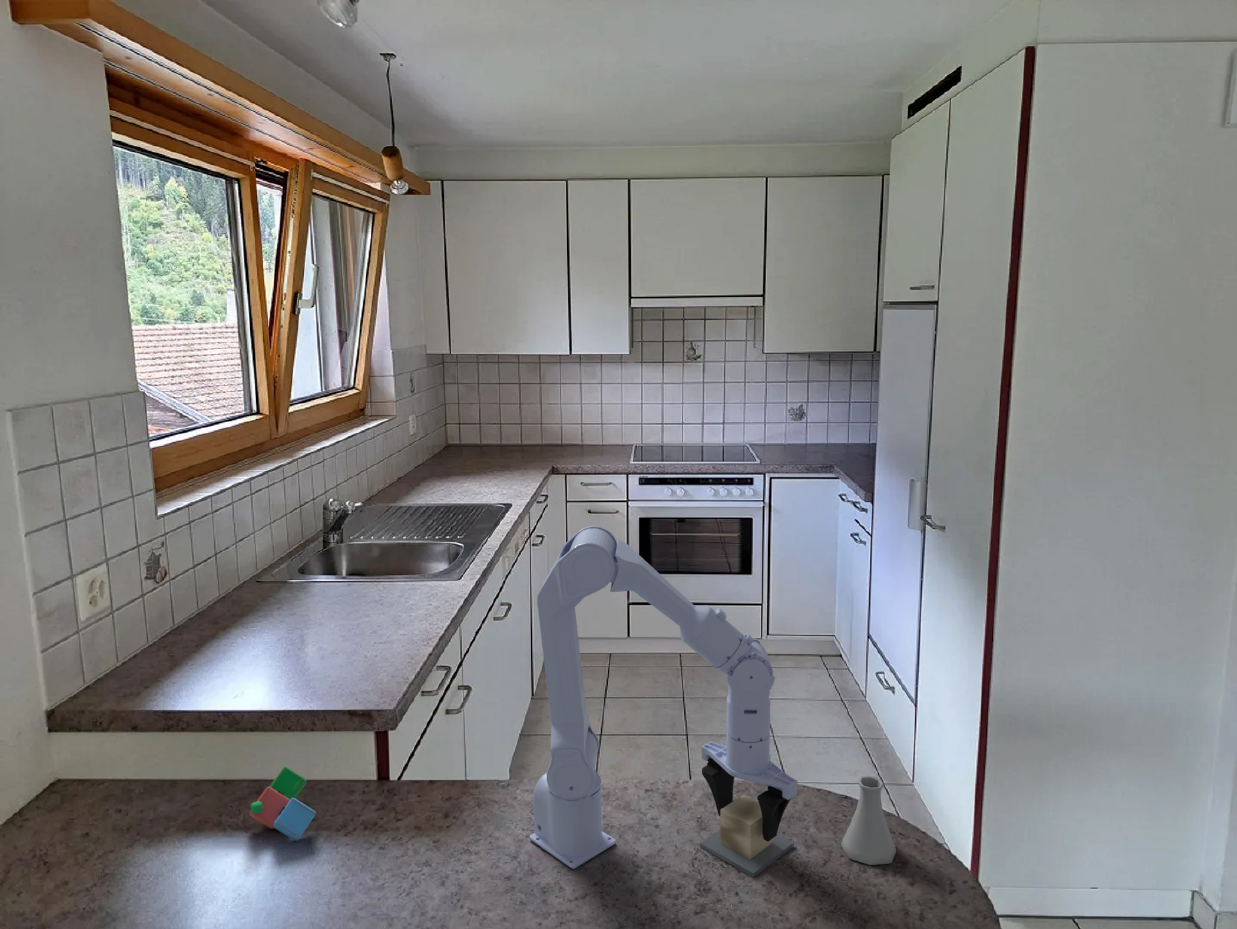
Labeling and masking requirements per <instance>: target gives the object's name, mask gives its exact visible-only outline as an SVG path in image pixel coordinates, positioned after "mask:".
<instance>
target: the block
mask: <svg viewBox="0 0 1237 929" xmlns="http://www.w3.org/2000/svg"><path fill="white" fill-rule="evenodd" d="M719 817H720V821H719V822H720V823H719V824H720V825H719V826H720V827H719V830H720V843H721V844H723V845H724V846H726V847H728V848H730V849H732V850H733V851H735V852H737V853H739V854H741V855H742V856H744V857H746V858H748V859H751V858H753V857H754V856H756V855H757V854H758V853H760V852H761V851H762V850H764V849H765V848H766V847H768V846H769V845H770V844H772V839H771V840H770V841H765V840H764V839H763V831H762V813H761V808H760V805H759V802H758V800H755V799H753V798H751V797H749V796H746V795H744V794H742V795H740V796H739V797H737V798H736V799H734V800H733V802H731V803H730V804H728V805H727V806H725V807H724V808H722V809H721V810H720V816H719Z"/></svg>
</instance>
